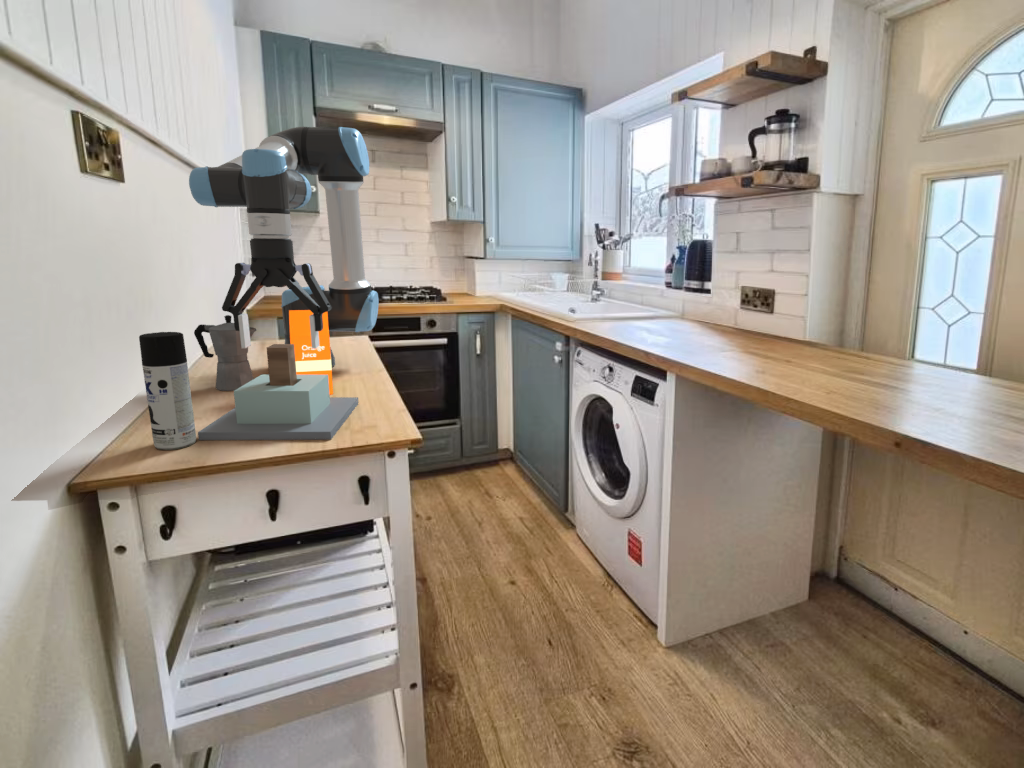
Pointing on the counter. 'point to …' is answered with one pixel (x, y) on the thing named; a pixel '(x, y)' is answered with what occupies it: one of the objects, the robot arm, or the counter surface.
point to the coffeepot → (227, 354)
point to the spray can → (168, 390)
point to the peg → (282, 365)
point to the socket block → (282, 411)
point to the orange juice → (310, 346)
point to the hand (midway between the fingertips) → (281, 347)
